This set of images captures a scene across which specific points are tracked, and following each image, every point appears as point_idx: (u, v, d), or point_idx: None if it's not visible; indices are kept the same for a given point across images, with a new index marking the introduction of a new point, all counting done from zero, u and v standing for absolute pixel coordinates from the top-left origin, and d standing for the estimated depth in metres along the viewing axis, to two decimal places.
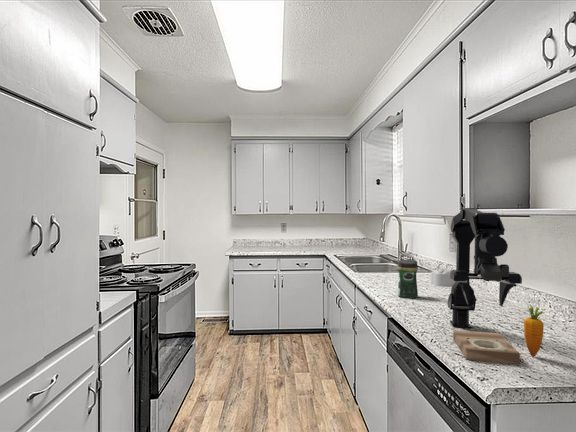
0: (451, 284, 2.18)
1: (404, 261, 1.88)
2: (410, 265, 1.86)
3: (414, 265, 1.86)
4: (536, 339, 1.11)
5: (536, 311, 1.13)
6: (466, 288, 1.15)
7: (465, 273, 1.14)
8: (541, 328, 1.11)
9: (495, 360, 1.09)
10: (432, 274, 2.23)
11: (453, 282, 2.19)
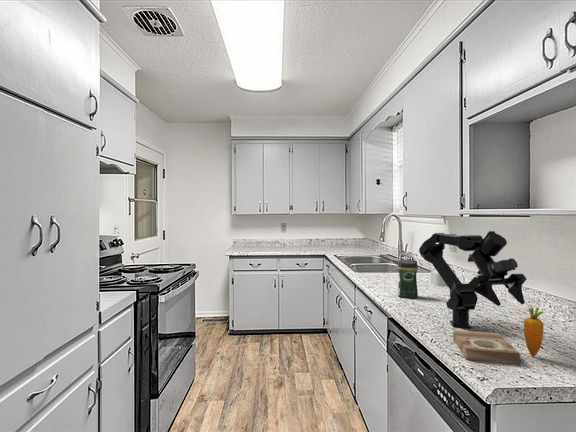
0: None
1: (404, 261, 1.88)
2: (410, 265, 1.86)
3: (414, 265, 1.86)
4: (536, 339, 1.11)
5: (536, 311, 1.13)
6: (491, 289, 1.22)
7: (484, 275, 1.24)
8: (541, 328, 1.11)
9: (495, 360, 1.09)
10: (432, 274, 2.23)
11: None
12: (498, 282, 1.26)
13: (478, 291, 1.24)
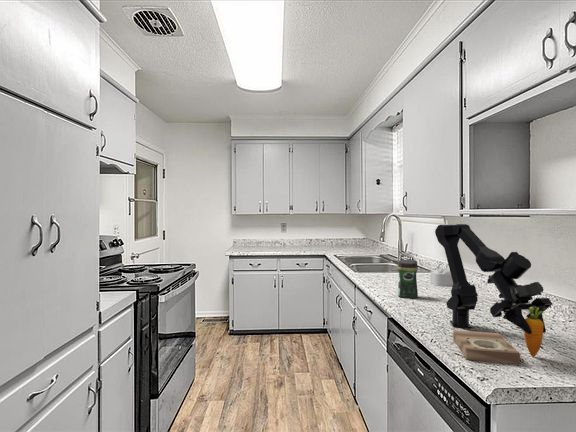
0: (450, 284, 2.18)
1: (404, 261, 1.88)
2: (410, 265, 1.86)
3: (414, 265, 1.86)
4: (536, 339, 1.11)
5: (536, 311, 1.13)
6: (520, 315, 1.13)
7: (507, 300, 1.15)
8: (541, 328, 1.11)
9: (495, 360, 1.09)
10: (431, 274, 2.23)
11: (452, 282, 2.18)
12: (522, 307, 1.17)
13: (506, 317, 1.16)
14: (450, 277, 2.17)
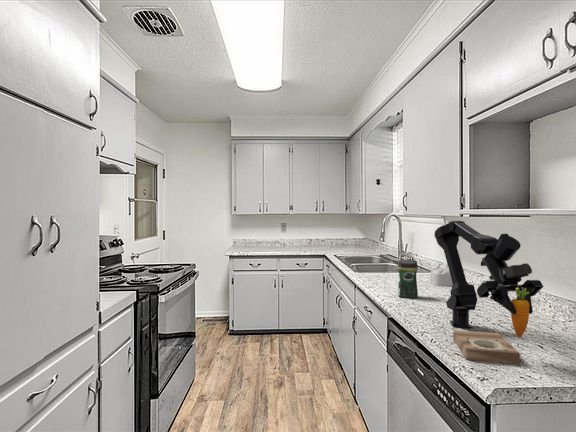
0: (450, 284, 2.18)
1: (404, 261, 1.88)
2: (410, 265, 1.86)
3: (414, 265, 1.86)
4: (521, 319, 1.11)
5: (523, 292, 1.13)
6: (506, 296, 1.13)
7: (493, 280, 1.15)
8: (526, 309, 1.11)
9: (495, 360, 1.09)
10: (431, 274, 2.23)
11: None
12: (510, 289, 1.17)
13: (493, 297, 1.17)
14: (450, 277, 2.17)
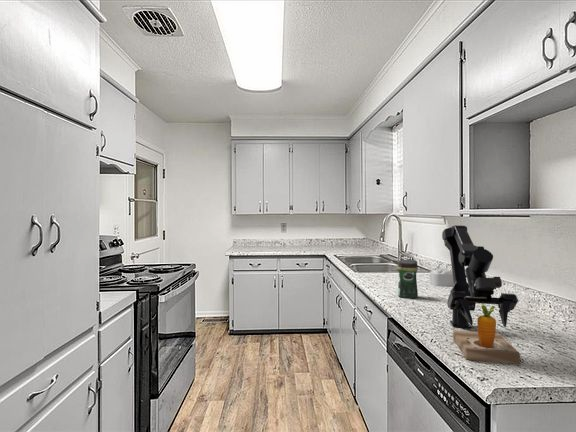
0: (450, 284, 2.18)
1: (404, 261, 1.88)
2: (410, 265, 1.86)
3: (414, 265, 1.86)
4: (484, 335, 1.13)
5: (490, 309, 1.15)
6: (466, 307, 1.17)
7: (462, 291, 1.19)
8: (490, 326, 1.13)
9: (495, 360, 1.09)
10: (431, 274, 2.23)
11: (452, 282, 2.18)
12: (482, 301, 1.18)
13: (457, 308, 1.20)
14: (449, 277, 2.17)
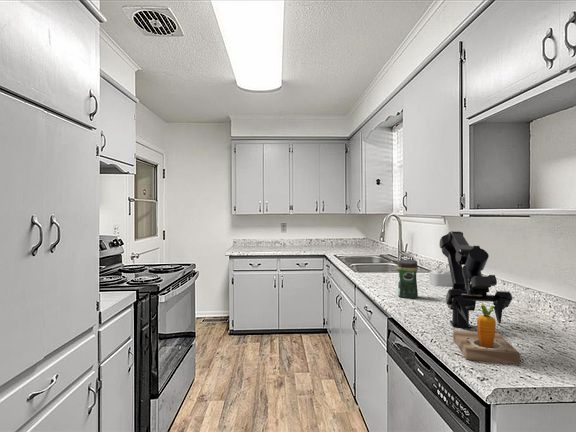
0: (449, 284, 2.18)
1: (404, 261, 1.88)
2: (410, 265, 1.86)
3: (414, 265, 1.86)
4: (484, 335, 1.13)
5: (490, 309, 1.15)
6: (462, 304, 1.21)
7: (458, 289, 1.23)
8: (490, 325, 1.13)
9: (495, 360, 1.09)
10: (430, 274, 2.23)
11: (451, 282, 2.18)
12: (478, 298, 1.23)
13: (453, 305, 1.24)
14: (449, 277, 2.17)
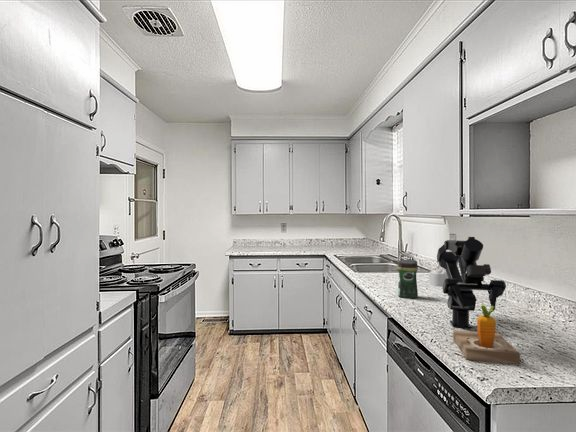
0: None
1: (404, 261, 1.88)
2: (410, 265, 1.86)
3: (414, 265, 1.86)
4: (484, 336, 1.13)
5: (490, 309, 1.14)
6: (458, 292, 1.26)
7: (454, 278, 1.28)
8: (490, 326, 1.12)
9: (495, 360, 1.09)
10: (430, 274, 2.23)
11: None
12: (473, 287, 1.28)
13: (449, 294, 1.30)
14: None
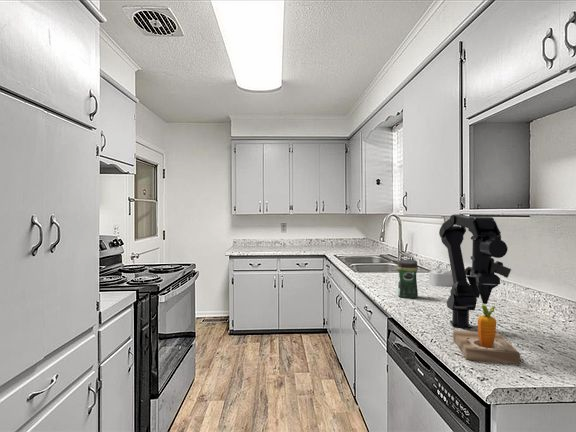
0: (449, 284, 2.17)
1: (404, 261, 1.88)
2: (410, 265, 1.86)
3: (414, 265, 1.86)
4: (484, 335, 1.13)
5: (491, 309, 1.15)
6: None
7: (495, 275, 1.21)
8: (490, 326, 1.12)
9: (495, 360, 1.09)
10: (430, 274, 2.23)
11: (451, 282, 2.18)
12: None
13: None
14: (448, 277, 2.17)
